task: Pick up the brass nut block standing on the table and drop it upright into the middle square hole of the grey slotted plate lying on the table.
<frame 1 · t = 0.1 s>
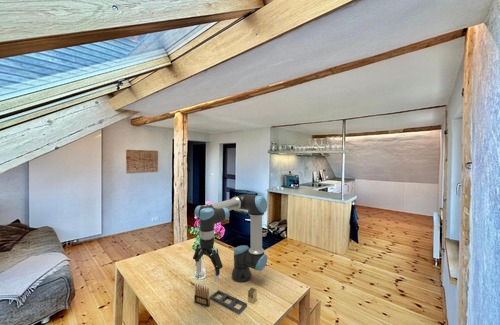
hand: (207, 276, 109), 28 cm above the table, fingers open, 13 cm apart
nut block: (252, 300, 130), on the table
grey slotted plate: (228, 302, 129), on the table
ammunition clip: (202, 304, 128), on the table
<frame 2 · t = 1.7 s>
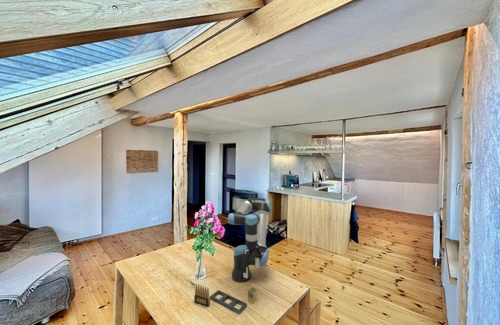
hand: (251, 272, 130), 19 cm above the table, fingers open, 13 cm apart
nothing on the table moved.
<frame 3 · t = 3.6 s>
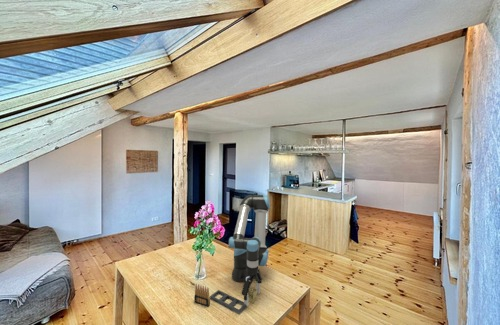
hand: (252, 298, 130), 2 cm above the table, fingers open, 13 cm apart
nothing on the table moved.
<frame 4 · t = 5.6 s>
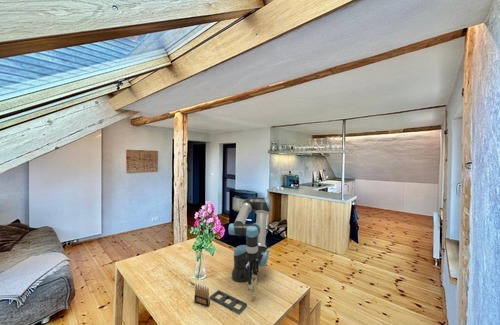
hand: (252, 286, 131), 9 cm above the table, fingers closed on nut block, 4 cm apart
nut block: (252, 289, 131), point 7 cm above the table, touching gripper
everything else where it was.
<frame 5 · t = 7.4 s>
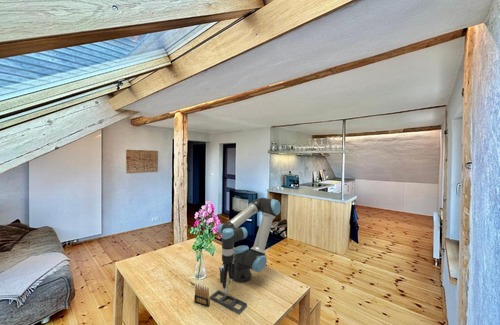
hand: (227, 290, 129), 8 cm above the table, fingers closed on nut block, 4 cm apart
nut block: (227, 293, 128), point 6 cm above the table, touching gripper
everything else where it was.
when the fingers open (2 cm above the table, at t = 9.1 s): nut block stays where it is, resting in grey slotted plate.
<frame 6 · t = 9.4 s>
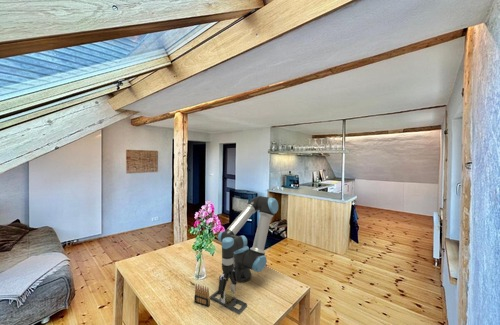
hand: (228, 298, 129), 3 cm above the table, fingers open, 9 cm apart
nut block: (228, 302, 129), resting in grey slotted plate
everything else where it was.
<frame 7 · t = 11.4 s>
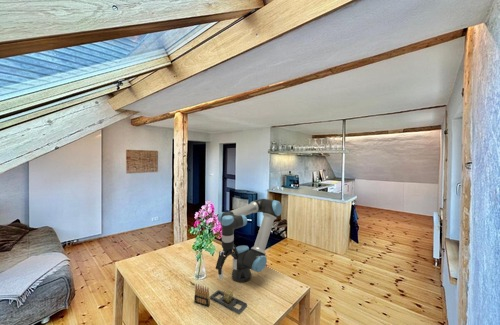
hand: (228, 273, 129), 18 cm above the table, fingers open, 13 cm apart
nothing on the table moved.
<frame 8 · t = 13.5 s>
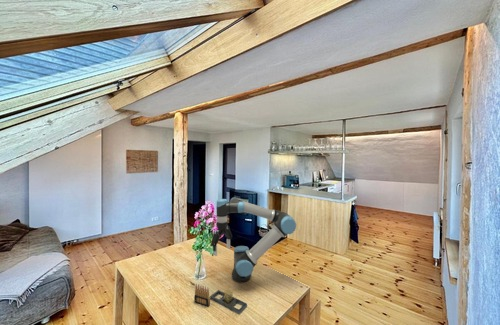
hand: (222, 251, 142), 27 cm above the table, fingers open, 13 cm apart
nothing on the table moved.
at the end: nut block 0.2 cm off-centre on the grey slotted plate, point 0.0 cm above the grey slotted plate's base; nut block tilted 0°; the gripper is holding nothing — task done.
